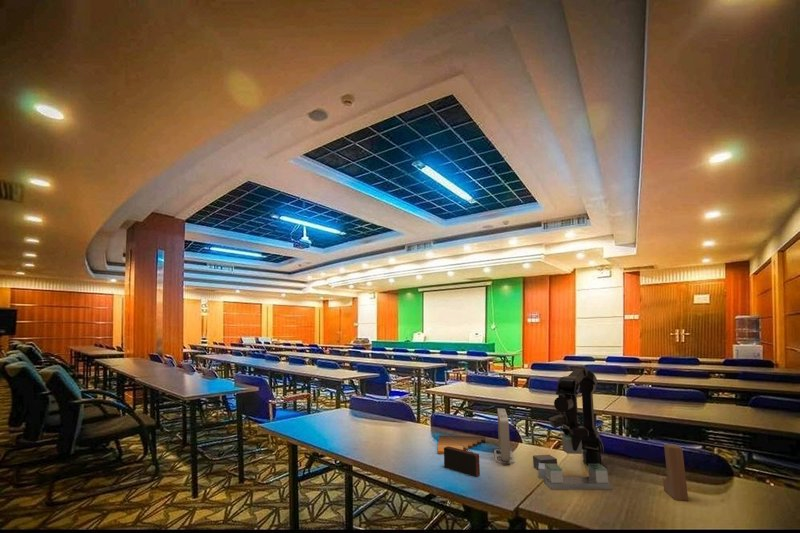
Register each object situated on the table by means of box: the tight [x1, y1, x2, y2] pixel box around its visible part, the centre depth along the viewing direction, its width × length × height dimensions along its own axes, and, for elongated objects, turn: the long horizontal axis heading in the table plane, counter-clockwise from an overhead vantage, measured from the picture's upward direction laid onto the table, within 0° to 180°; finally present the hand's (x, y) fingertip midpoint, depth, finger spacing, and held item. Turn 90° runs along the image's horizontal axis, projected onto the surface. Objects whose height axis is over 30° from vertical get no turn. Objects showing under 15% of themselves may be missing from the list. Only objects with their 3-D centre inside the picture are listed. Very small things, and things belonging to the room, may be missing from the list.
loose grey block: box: [532, 454, 558, 472], centre depth 167 cm, size 8×6×5 cm
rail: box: [543, 463, 612, 490], centre depth 150 cm, size 23×7×7 cm, turn 90°
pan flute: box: [437, 434, 486, 455], centre depth 197 cm, size 25×3×25 cm
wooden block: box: [662, 443, 689, 502], centre depth 142 cm, size 9×4×18 cm, turn 167°
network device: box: [493, 408, 516, 465], centre depth 184 cm, size 26×9×20 cm, turn 168°
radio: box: [440, 430, 481, 478], centre depth 166 cm, size 19×3×15 cm, turn 47°
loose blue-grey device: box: [538, 463, 545, 480], centre depth 159 cm, size 5×7×4 cm
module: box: [561, 434, 583, 455], centre depth 156 cm, size 6×4×6 cm
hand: (572, 448), depth 155 cm, fingers closed on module, 4 cm apart
